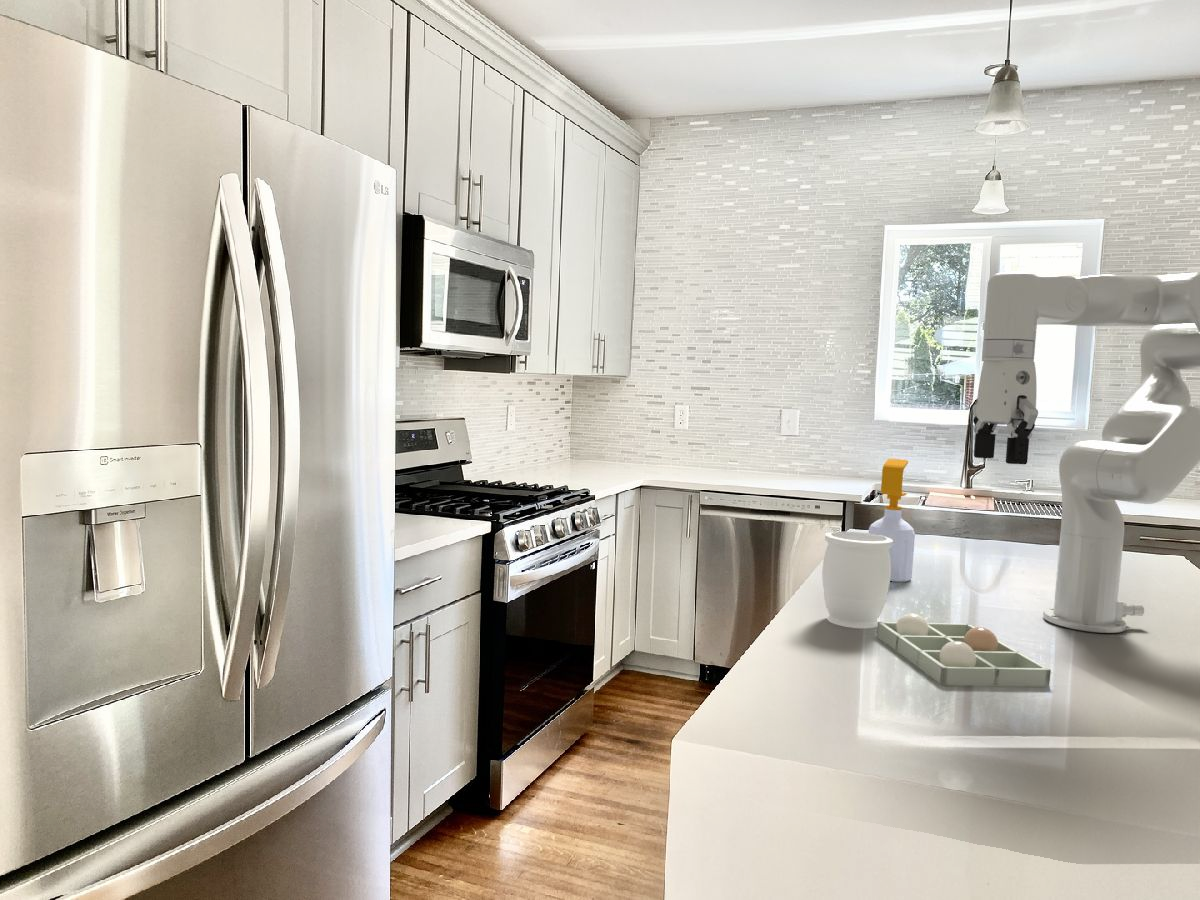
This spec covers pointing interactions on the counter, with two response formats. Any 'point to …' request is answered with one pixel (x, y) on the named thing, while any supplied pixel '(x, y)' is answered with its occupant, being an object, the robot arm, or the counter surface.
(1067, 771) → the counter surface
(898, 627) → the cream egg
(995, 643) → the brown egg
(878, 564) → the jar
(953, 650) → the cream egg
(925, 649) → the egg tray
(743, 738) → the counter surface
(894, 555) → the soap bottle
